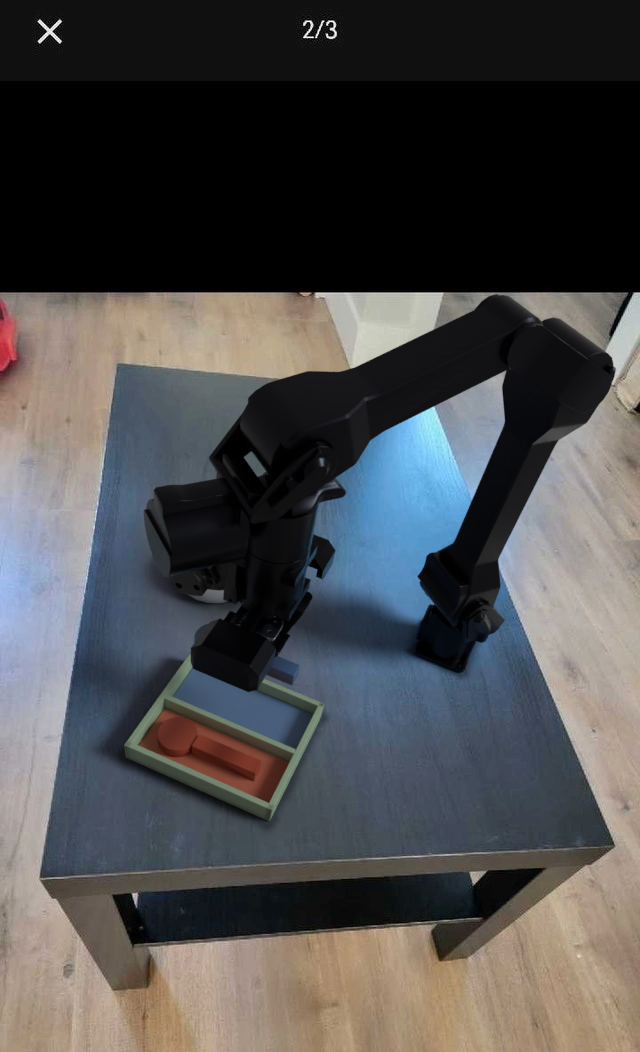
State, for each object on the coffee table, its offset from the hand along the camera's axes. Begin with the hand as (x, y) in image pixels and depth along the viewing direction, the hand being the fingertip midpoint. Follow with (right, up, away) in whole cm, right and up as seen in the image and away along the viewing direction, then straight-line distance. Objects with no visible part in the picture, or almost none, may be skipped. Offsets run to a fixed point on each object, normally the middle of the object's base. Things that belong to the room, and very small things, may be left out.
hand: (260, 659), depth 68 cm
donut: (-8, +10, +19) cm, 23 cm away
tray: (-4, -8, +4) cm, 10 cm away
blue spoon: (-1, 0, +1) cm, 1 cm away
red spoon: (-5, -10, +2) cm, 11 cm away
